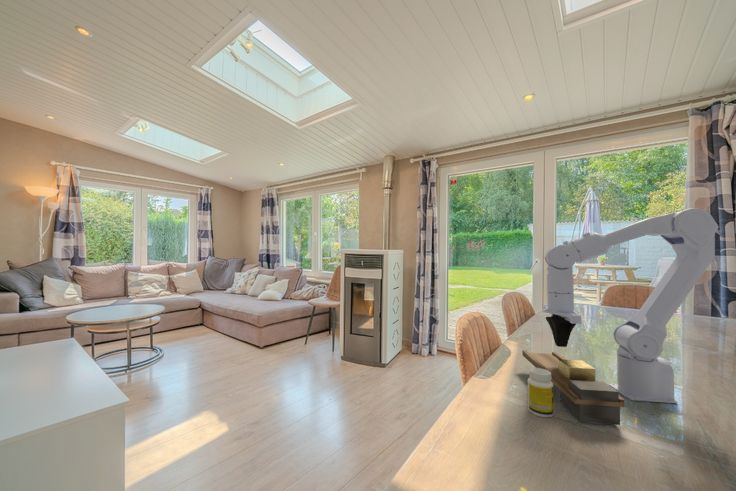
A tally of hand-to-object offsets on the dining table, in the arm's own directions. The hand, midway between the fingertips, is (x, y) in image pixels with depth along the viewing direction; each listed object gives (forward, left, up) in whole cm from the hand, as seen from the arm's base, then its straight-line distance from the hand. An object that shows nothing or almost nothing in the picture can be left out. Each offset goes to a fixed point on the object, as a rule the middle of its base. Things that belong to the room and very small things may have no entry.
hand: (561, 346), depth 77 cm
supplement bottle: (+11, +16, -10) cm, 22 cm away
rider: (+2, +11, -5) cm, 13 cm away
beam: (+2, +6, -9) cm, 11 cm away
